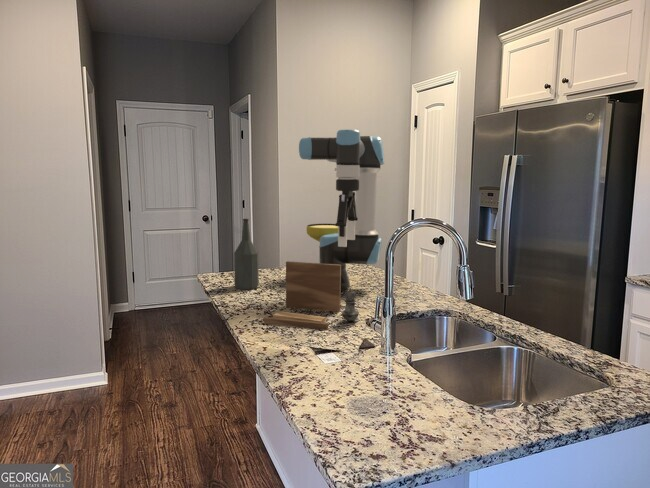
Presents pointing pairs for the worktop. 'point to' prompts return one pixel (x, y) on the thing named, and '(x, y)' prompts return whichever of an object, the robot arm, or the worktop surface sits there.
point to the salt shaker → (350, 308)
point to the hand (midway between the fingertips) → (346, 243)
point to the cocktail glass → (321, 230)
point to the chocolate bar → (317, 351)
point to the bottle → (246, 262)
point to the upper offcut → (299, 317)
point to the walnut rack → (311, 291)
